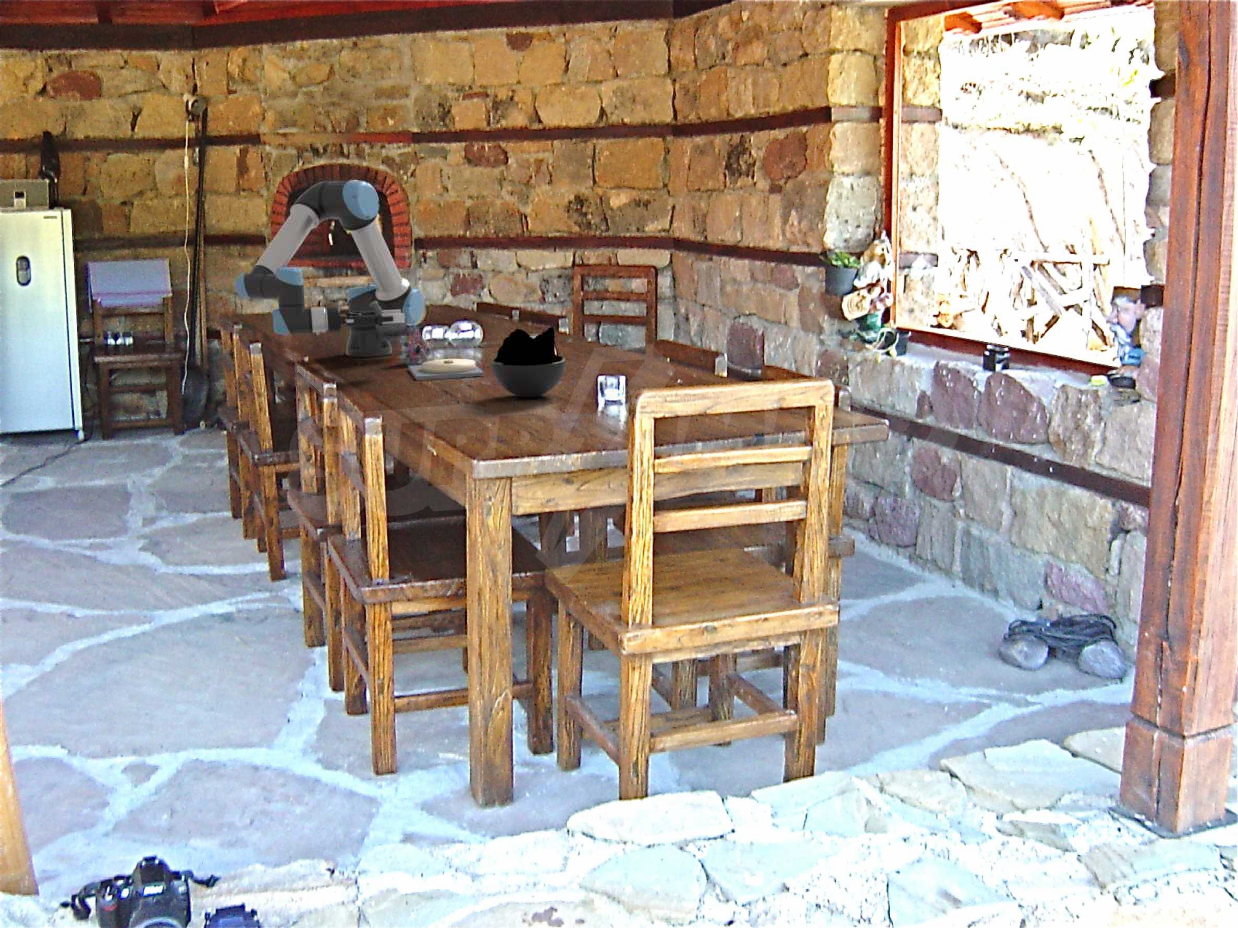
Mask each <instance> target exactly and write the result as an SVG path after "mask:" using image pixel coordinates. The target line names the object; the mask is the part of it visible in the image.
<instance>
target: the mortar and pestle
mask: <svg viewBox="0 0 1238 928" xmlns="http://www.w3.org/2000/svg"><path fill="white" fill-rule="evenodd" d="M369 307H370V308H372V310H373V312H374V314H375V315H382V314H385V313H384V312H383V311H382V309H381V308H380V306H379V305H378V302H377V301H373V302H372V303H370V304H369ZM404 320H405V323H387V324H382V326H380V325H375V326H376V329H377V331H378V332H379V333H380V334H381V335H382V341H389V342H398V341H399V342H400V340H402V337H401V336H402V334H403V333H404V332H405V330H406V328H407V325H406V323H407V319H406V316H404Z"/></svg>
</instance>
